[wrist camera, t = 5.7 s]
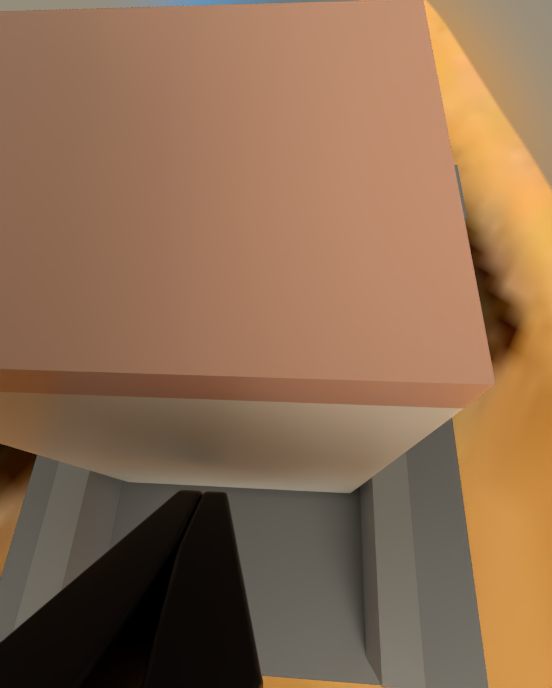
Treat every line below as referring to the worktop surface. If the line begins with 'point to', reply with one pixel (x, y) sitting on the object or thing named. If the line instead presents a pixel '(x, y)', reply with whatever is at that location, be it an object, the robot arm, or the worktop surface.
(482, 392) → the white block
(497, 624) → the worktop surface
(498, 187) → the worktop surface
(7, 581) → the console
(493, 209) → the worktop surface
